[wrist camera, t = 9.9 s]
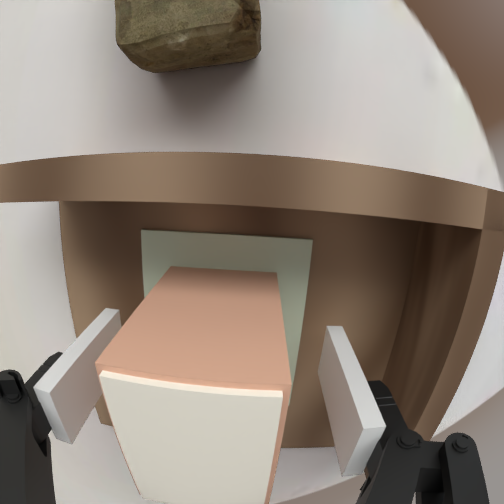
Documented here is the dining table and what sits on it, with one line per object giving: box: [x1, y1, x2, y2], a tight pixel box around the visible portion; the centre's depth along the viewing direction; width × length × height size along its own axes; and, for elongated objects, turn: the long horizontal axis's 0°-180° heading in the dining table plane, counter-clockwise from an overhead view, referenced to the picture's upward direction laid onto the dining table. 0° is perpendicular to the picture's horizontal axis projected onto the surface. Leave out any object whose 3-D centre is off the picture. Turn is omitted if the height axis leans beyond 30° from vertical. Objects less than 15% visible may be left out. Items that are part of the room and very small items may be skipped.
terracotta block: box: [95, 266, 292, 504], centre depth 12 cm, size 7×5×8 cm
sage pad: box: [141, 229, 313, 406], centre depth 16 cm, size 8×10×1 cm
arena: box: [0, 152, 504, 479], centre depth 14 cm, size 20×18×6 cm
